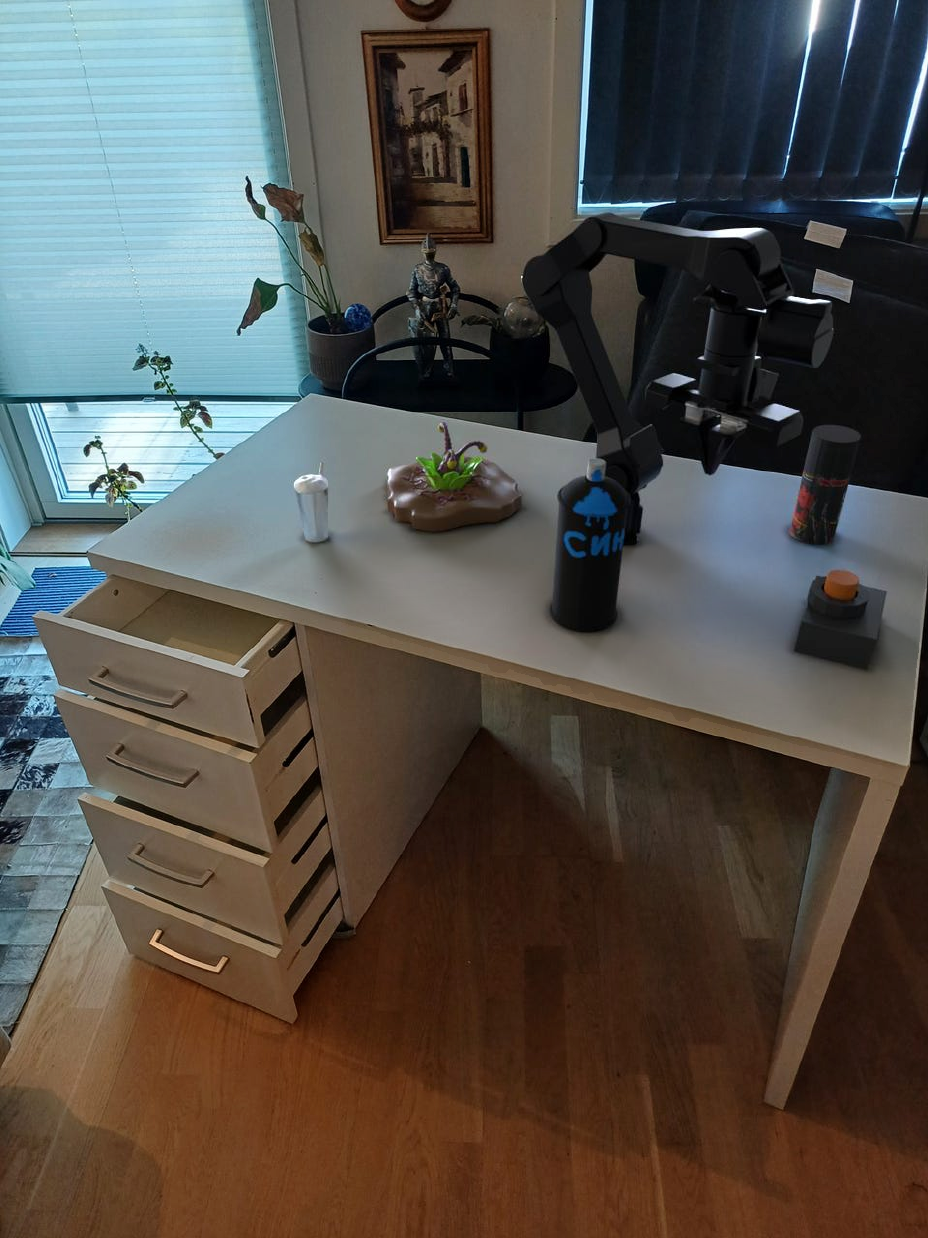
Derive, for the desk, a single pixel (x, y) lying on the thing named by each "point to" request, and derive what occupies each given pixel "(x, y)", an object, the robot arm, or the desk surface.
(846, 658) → the push button box
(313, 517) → the milkshake
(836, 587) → the orange push button
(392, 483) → the plant
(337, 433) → the desk surface
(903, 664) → the desk surface
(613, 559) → the aerosol can
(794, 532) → the deodorant
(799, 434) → the robot arm
